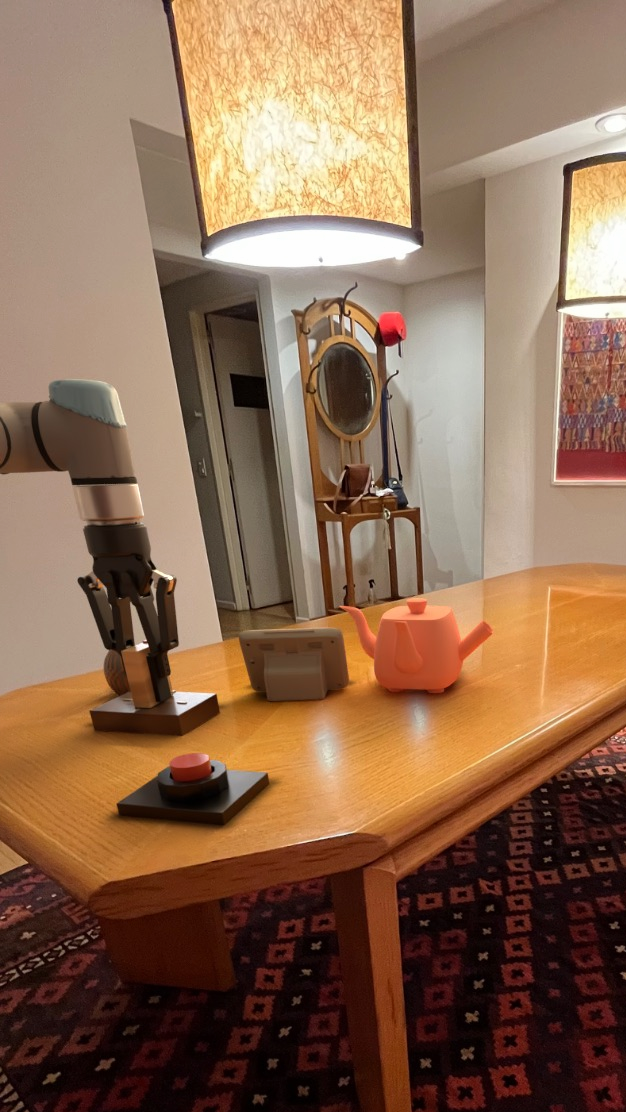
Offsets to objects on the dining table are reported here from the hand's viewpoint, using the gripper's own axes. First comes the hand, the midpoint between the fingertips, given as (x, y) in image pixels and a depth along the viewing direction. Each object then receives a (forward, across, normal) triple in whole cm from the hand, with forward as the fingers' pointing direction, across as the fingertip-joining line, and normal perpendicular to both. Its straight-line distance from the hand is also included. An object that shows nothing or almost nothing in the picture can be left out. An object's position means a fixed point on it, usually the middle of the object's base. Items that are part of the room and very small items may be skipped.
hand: (153, 698), depth 97 cm
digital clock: (+4, -16, -16) cm, 22 cm away
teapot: (+4, -34, -22) cm, 40 cm away
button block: (+4, -20, +25) cm, 32 cm away
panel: (+4, 0, 0) cm, 4 cm away
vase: (+4, +12, -13) cm, 18 cm away
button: (0, -20, +25) cm, 32 cm away
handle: (0, 0, 0) cm, 0 cm away
